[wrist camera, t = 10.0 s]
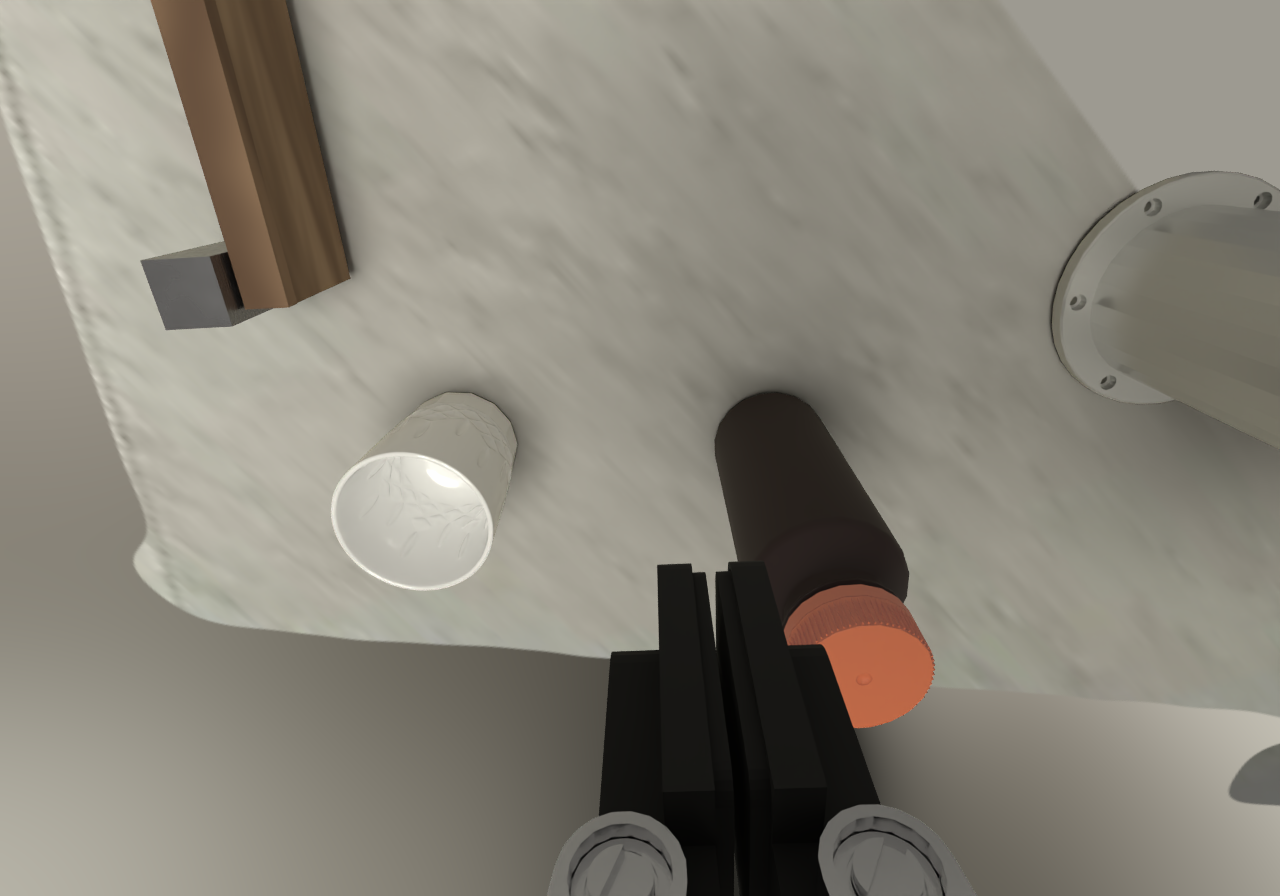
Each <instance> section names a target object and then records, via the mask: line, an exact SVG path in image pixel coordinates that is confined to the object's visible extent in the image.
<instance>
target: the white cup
mask: <svg viewBox="0 0 1280 896" xmlns="http://www.w3.org/2000/svg"><path fill="white" fill-rule="evenodd" d="M516 449H517V441H516V438H515V435H514V431H513V428H512V425H511V422H510V421H509V420H508V419H507V418H506V416H505V415H504V414H503V413H502V412H501V411H500V410H499V409H498V408H497V406H496V405H495V404H493V403H491V402H489V401H487V400H485V399H483V398H481V397H478V396H476V395H474V394H472V393H450V392H446V393H444V394H441V395H439V396H437V397H435V398H432V399H430V400H428V401H425V402H424V403H423V404H422V405H421V406H420V407H419V408H418V409H417V410H416V411H415V412H414V413H412V414H411V415H409V416H408V417H406V418H405V419H404V420H402V421H401V422H400V423H399V424H398V425H397V426H396V427H395V428H394V429H392V430H391V431H390V432H389V433H388V434H387V435H385V436H384V437H383V438H382V439H381V440H380V441H379V442H378V443H377V444H376V445H375V446H374V447H373V448H372V449H371V450H370V451H369V452H368V453H367V454H365V455H364V456H363V457H362V458H361V459H360V460H359V461H358V462H357V463H356V464H355V465H354V466H353V467H352V468H351V469H350V470H348V471H347V472H346V474H345V475H344V476H343V477H342V478H341V480H340V481H339V483H338V485H337V487H336V489H335V491H334V494H333V498H332V503H331V519H332V524H333V528H334V531H335V534H336V536H337V539H338V541H339V542H340V544H341V546H342V548H343V549H344V550H345V552H346V553H347V554H348V556H349V557H350V558H351V559H352V560H353V561H354V562H355V563H356V564H357V565H358V566H359V567H361V568H362V569H363V570H364V571H366V572H367V573H369V574H370V575H372V576H373V577H375V578H377V579H379V580H381V581H383V582H386V583H388V584H391V585H394V586H397V587H401V588H405V589H411V590H437V589H443V588H447V587H450V586H453V585H456V584H458V583H460V582H462V581H464V580H466V579H467V578H469V577H470V576H471V575H473V574H474V573H475V572H476V571H477V570H478V569H479V568H480V567H481V566H482V564H483V563H484V561H485V560H486V558H487V556H488V554H489V552H490V549H491V546H492V542H493V539H494V536H495V532H496V529H497V526H498V523H499V520H500V516H501V513H502V510H503V507H504V504H505V499H506V495H507V492H508V488H509V484H510V480H511V476H512V468H513V464H514V459H515V454H516Z"/></svg>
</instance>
